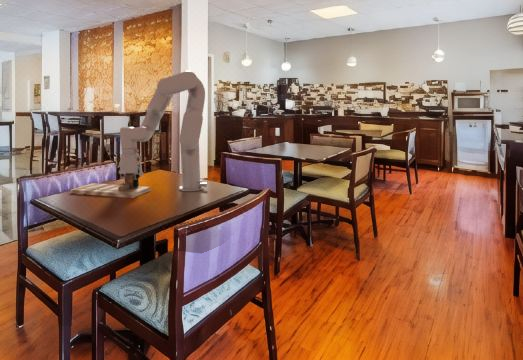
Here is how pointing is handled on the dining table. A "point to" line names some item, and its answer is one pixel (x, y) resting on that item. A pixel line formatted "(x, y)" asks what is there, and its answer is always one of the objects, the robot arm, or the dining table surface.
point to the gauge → (127, 182)
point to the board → (110, 190)
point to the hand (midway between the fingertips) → (132, 186)
